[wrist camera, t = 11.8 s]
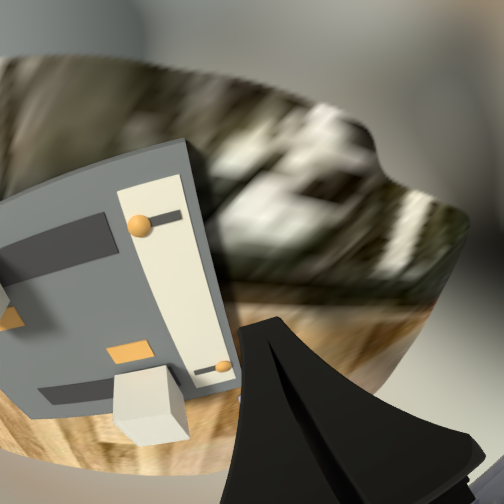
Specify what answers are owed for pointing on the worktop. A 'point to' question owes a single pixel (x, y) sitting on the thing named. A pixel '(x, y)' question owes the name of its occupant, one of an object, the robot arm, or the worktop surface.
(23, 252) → the switch unit
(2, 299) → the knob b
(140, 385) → the white cube
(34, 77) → the worktop surface
